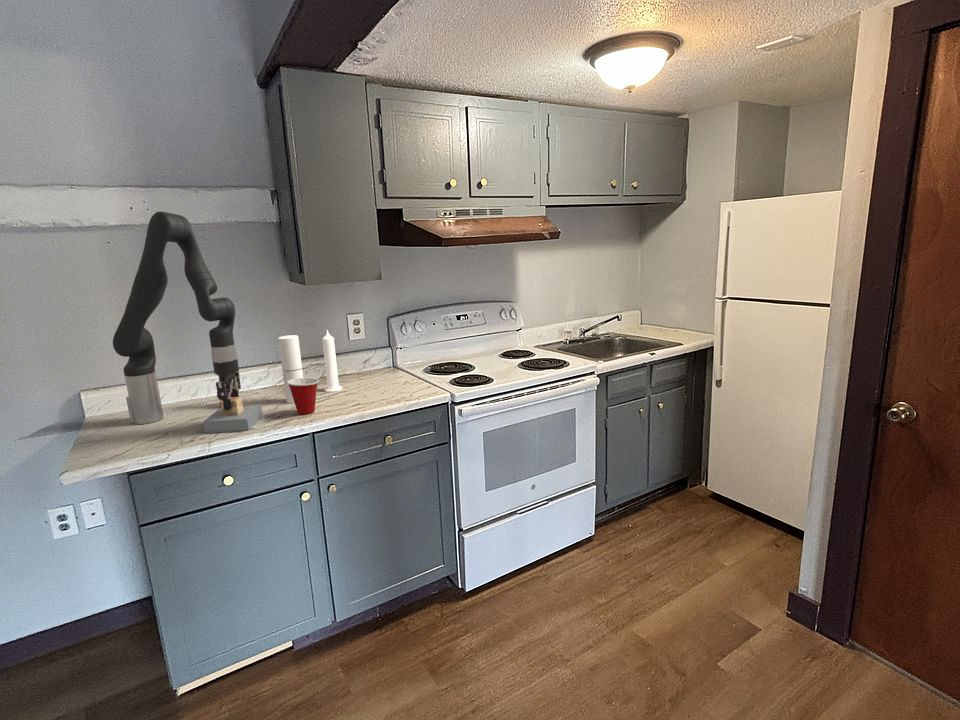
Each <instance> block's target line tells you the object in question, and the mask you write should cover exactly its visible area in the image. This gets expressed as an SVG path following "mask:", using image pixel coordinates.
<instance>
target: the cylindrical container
mask: <svg viewBox="0 0 960 720" xmlns="http://www.w3.org/2000/svg"><path fill="white" fill-rule="evenodd" d="M277 338H278V339H277V340H278V347H279V354H280V355H279V356H280V362H281V370H282V377H283V385H284V392H285V401H286V403H288V404H295V403H294V400H293V396H292V393H291V390H290V387H289V384H288V383H287V381H289V380H292V379H297V378H304V372H303V368H302V367H303V365H302V356H301V347H300V340H299V336H298V334H297V335H296V334H295V335H293V334H292V335H289V334H288V335H282V336H279V337H277Z"/></svg>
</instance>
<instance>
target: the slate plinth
mask: <svg viewBox="0 0 960 720" xmlns="http://www.w3.org/2000/svg"><path fill="white" fill-rule="evenodd" d="M243 410H244V411H242V412H241V413H240V414H239V415H234V416H223V413H222V407H220V408H219V409H218V410H216V411H215V412H213V413H212V414H210V416H208V417H207V418H206V419H204V420H202V421H203V422H202V423H203V429H204V433H205V434H213V433H215V434H216V433H229V432H230V433H231V432H232V433H233V432H247V431H250V430H251V429H252V428H253V427H254V426H255V425H256V424H257V423H258V422H259V421H260V420H261V419H262V418H263V411H262V405H253V406H252V405H251V406H243Z"/></svg>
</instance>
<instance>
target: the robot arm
mask: <svg viewBox="0 0 960 720" xmlns="http://www.w3.org/2000/svg"><path fill="white" fill-rule="evenodd" d="M168 242H169V243H176V244H177V246H178V247H179V248H180V250H181V251H182V253H183V256H184V257H183V258H184V269H183V270H184V275H185V278H186V279H187V282H188V283H189V285H190V286H191V287H190V288H191V289H192V291H193V292H194V295H195V300H196V304H197V310H198V312H199V313H198V314H199V316H201V318H202V319H203V320H205V321H207V322H216V321H218V325H217V326H215V327H213V328H211V329H210V330H209V332H208V333H209V335H208V336H209V343H210V350H211V351H210V354H211V362H212V366H213V367H212V368H213V371H214V372H213V373H214V374H215V375H219V376H220V382H219V381H216V382H215V387H216V394H217V393H218V397H217V398H219V399H218V400H220V401H221V400H223V406H224V410H225V411H226V410H231V409H232V407H231V401H230V393H231V397H240V394H239V392H240V390H241V388H242V387H241V378H240V372H239V371H240V366H239V359H238V353H237V348H236V345H235V339H234V326H235V319H236V318H235V317H236V306H235V304H234V302H233V301H232V300H231V299H230V298H229V297H218V298H211V296H212V295H214V294H216V293H217V291H218V285H217V282H216V281H215V280H214V278H213V275H212V273H211V271H210V270H209V269H208V266H207V265H206V263H205V261H204V258H203V255H202V253H201V250H200V247H199V244H198V241H197V238H196V236H195V233H194V230H193V228H192V225H191V223H190V222H189V220H188V219H187V217H185V216H183V215H180V214H177V213H172V212H167V211H157V212H155V213H154V214H152V216H151V217H150V219H149V221H148V225H147V230H146V235H145V239H144V247H143V251H142V255H141V259H140V261H139V265H138V269H137V272H136V274H135V277H134V280H133V283H132V286H131V289H130V290H131V291H130V294H129V297H128V299H127V303H126V305H125V309H124V313H123V314H122V318H121V319H120V322H119V324H118V326H117V328H116V330H115V332H114V334H113V338H112V346H113V350H114V352H115V353H116V354H118V355H119V356H120V357H126V358H128V361H127V363H126V364H125V366H124V367H123V375H124V379H125V384H126V390H127V396H126V397H125V400H126V404H127V406H126V407H127V411H128V414H129V420H130V424H136V425H145V424H151V423H155V422H158V421H160V420H162V419H164V418H165V416H164V410H163V406H162V399H161V395H160V389H159V384H158V379H157V374H156V373H157V372H156V367H155V366H156V363H157V357H156V350H155V344H154V343H155V342H154V339H153V336H152V334H151V332H150V331H149V330H148V329H147V328H145V326H146V323H147V322H148V319H149V318H150V317H151V315H152V314H153V313H154V312H155V310H156V309H157V308H158V307H159V304H161V302H162V300H163V297H164V294H165V292H166V290H167V286H168V281H169V278H168V274H167V269H166V266H165V262H164V253H165V249H166V246H167V244H168ZM226 389H228V390H226Z"/></svg>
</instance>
